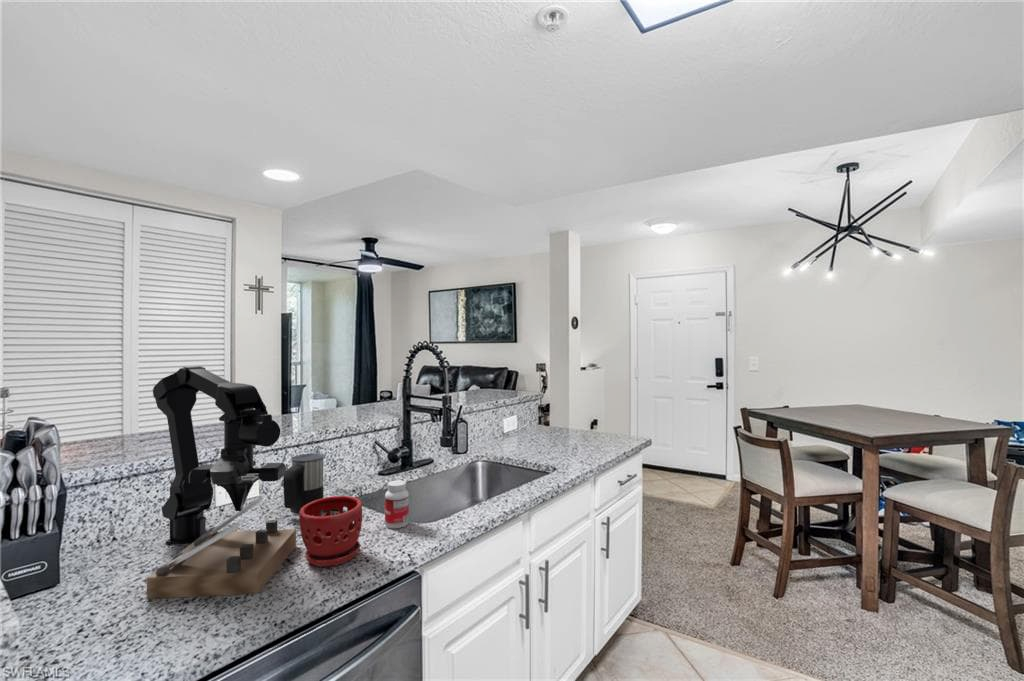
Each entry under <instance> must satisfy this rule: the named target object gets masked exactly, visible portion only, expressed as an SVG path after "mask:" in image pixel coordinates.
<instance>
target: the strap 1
mask: <svg viewBox="0 0 1024 681" xmlns="http://www.w3.org/2000/svg"><path fill="white" fill-rule="evenodd" d="M240 526H241V524H240V522H239V521H238V522H236V523H234V524H232V525H230V526H229V527H227V528H225V529H224V530H221V531H219V532H220V533H218V534H217V535H215V536H213V537H211V538H210V539H208V540H206V541H204V542H203V543H201V544H199V545H198V546H196V547H194V548H192V549H191V550H189V551H187V552H186V553H184V554H182V555H180V556H179V557H177V558H175V559H174V560H172V561H171V562H170V563H169V564H167V565H169V567H170V568H171V567H173V566H174V565H176V564H178V563H179V562H181V561H183V560H185V559H186V558H188V557H190V556H192V555H193V554H195V553H197V552H198V551H200V550H202V549H204V548H205V547H207V546H209V545H210V544H212V543H214V542H216V541H217V540H219V539H221V538H222V537H224V536H226V535H228V534H229V533H231V532H233V531H235V530H236V529H238V528H239V527H240Z"/></svg>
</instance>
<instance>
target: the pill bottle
mask: <svg viewBox="0 0 1024 681" xmlns="http://www.w3.org/2000/svg"><path fill="white" fill-rule="evenodd" d="M406 487H407V482H406V480H405V481H404V480H399V479H398V480H391V481H389V482H388V483H387V491H386V492H385V494H384V525H385V527H386V528H388V529H400V528H401V527H402V528H405V527H406V526H408V524H409V520H410V519H409V518H410V517H409V515H410V511H409V507H410V505H409V504H410V503H409V502H410V501H409V500H410V494H409V492H408V490H407V489H406Z"/></svg>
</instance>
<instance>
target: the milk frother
mask: <svg viewBox="0 0 1024 681" xmlns="http://www.w3.org/2000/svg"><path fill="white" fill-rule="evenodd" d="M324 458H325V454H321V453H304V454H298V455H294V456H292V457H291V458H290V461H291V466H290V467H289V468H287V469H286V474H285V475H284V476H283V477H282V479H283V480H282V484H283V488H282V490H283V503H284V504H283V505H284V508H286V509H289V510H290V511H291V512H293V513H299V512H300V509H301V508H302V507H303V506H305V505H306V504H308V503H310V502H313V501H315V500H318V499H322V498H324ZM334 511H336V512H339V511H338V510H337V509H332V510H331V512H334Z"/></svg>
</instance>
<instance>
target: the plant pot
mask: <svg viewBox="0 0 1024 681" xmlns="http://www.w3.org/2000/svg"><path fill="white" fill-rule="evenodd" d="M344 508H346V509H347V510H346V512H344V511H345V510H344ZM332 509H337V510H338V512H339V514H337V515H332V516H331V515H330V512H332V511H331V510H332ZM322 511H325V513H323V514H324V515H323V514H322V515H321V512H322ZM298 513H299V514H298V515H299V516H298V517H299V529H300V534H301V535H300V536H301V538H302V542H303V544H304V547H305V548H306V551H305V554H304V556H305V557H304V558H305V559H306V561H307V562H308V563H310V564H312V565H313V566H318V567H333V566H337V565H338V566H339V565H342V564H344V563H345V562H349V561H350V560H352V559H354V558H355V556H357V554H358V553H359V551H360V548H361V544H360V542H359V541H358V540H359V537H360V535H361V530H362V523H363V506H362V501H361V499H360V498H357V497H355V496H350V495H337V496H336V495H335V496H334V495H333V496H327V497H323V498H322V499H318V500H315V501H313V502H310V503H308V504H306V505H305V506H303V507H302V508H301V509H300V512H298Z"/></svg>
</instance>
